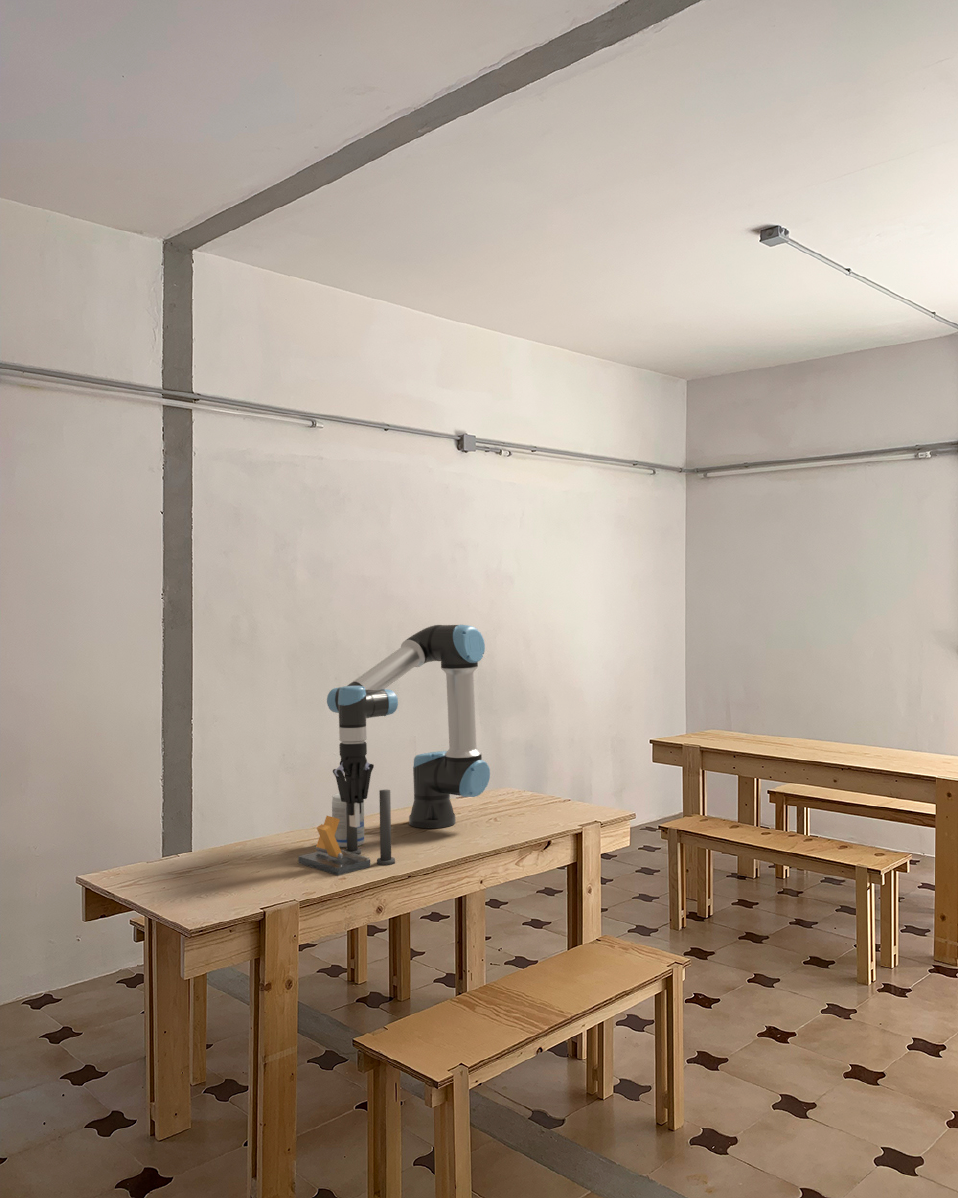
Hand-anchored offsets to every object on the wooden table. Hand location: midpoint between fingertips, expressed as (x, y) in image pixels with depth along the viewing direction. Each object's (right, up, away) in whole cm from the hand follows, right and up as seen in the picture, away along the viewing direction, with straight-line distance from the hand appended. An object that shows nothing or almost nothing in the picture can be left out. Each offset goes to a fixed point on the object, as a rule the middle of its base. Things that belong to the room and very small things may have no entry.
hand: (354, 826), depth 270 cm
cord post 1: (-2, -10, +9) cm, 13 cm away
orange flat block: (-10, -8, +1) cm, 13 cm away
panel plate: (-5, -10, -3) cm, 12 cm away
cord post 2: (+9, -10, -2) cm, 13 cm away
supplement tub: (-4, -10, +20) cm, 23 cm away
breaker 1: (-4, -8, -4) cm, 10 cm away
